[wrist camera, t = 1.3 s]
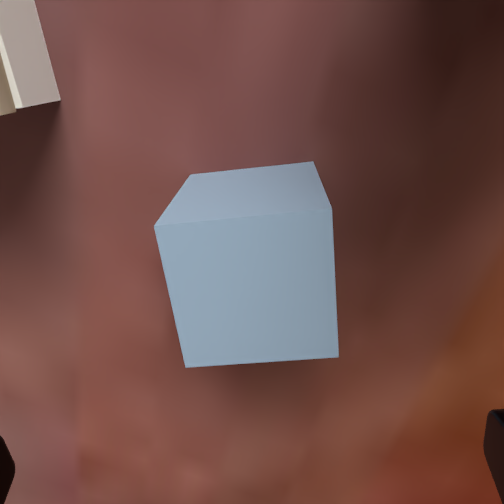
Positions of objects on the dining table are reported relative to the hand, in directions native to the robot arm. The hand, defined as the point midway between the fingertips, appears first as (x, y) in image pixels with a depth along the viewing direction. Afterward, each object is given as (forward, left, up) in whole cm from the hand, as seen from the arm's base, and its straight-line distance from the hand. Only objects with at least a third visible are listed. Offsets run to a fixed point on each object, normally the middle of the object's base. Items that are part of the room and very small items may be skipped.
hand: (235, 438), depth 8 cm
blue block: (0, 0, -12) cm, 12 cm away
